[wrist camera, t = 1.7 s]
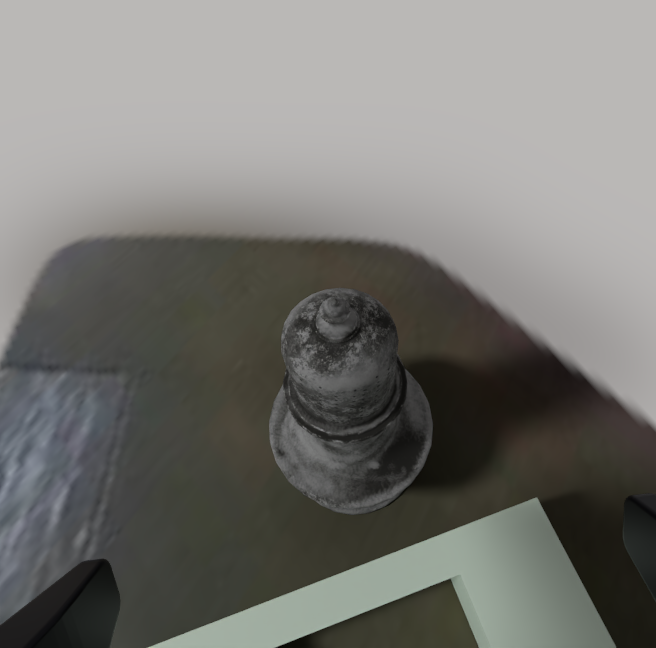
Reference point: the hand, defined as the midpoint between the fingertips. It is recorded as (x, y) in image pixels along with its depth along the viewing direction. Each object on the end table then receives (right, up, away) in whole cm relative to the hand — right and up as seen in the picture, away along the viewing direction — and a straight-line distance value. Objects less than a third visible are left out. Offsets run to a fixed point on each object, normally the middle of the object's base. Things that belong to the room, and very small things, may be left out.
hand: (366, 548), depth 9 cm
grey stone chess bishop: (0, -1, +13) cm, 13 cm away
